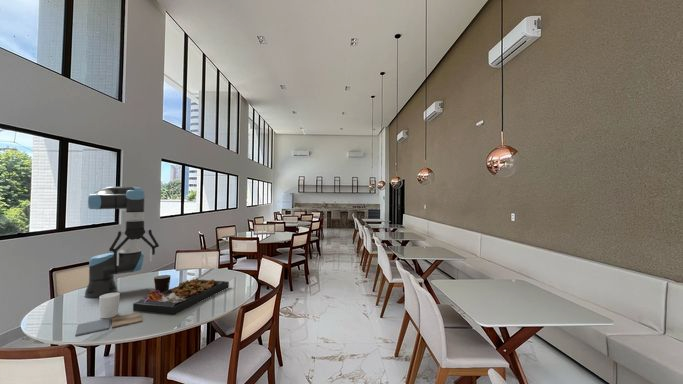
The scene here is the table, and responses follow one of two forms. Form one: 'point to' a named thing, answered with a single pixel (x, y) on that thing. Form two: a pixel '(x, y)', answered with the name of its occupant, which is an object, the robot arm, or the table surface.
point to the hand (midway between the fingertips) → (134, 263)
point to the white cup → (109, 305)
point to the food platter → (179, 296)
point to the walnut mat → (126, 319)
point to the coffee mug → (162, 283)
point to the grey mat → (92, 327)
